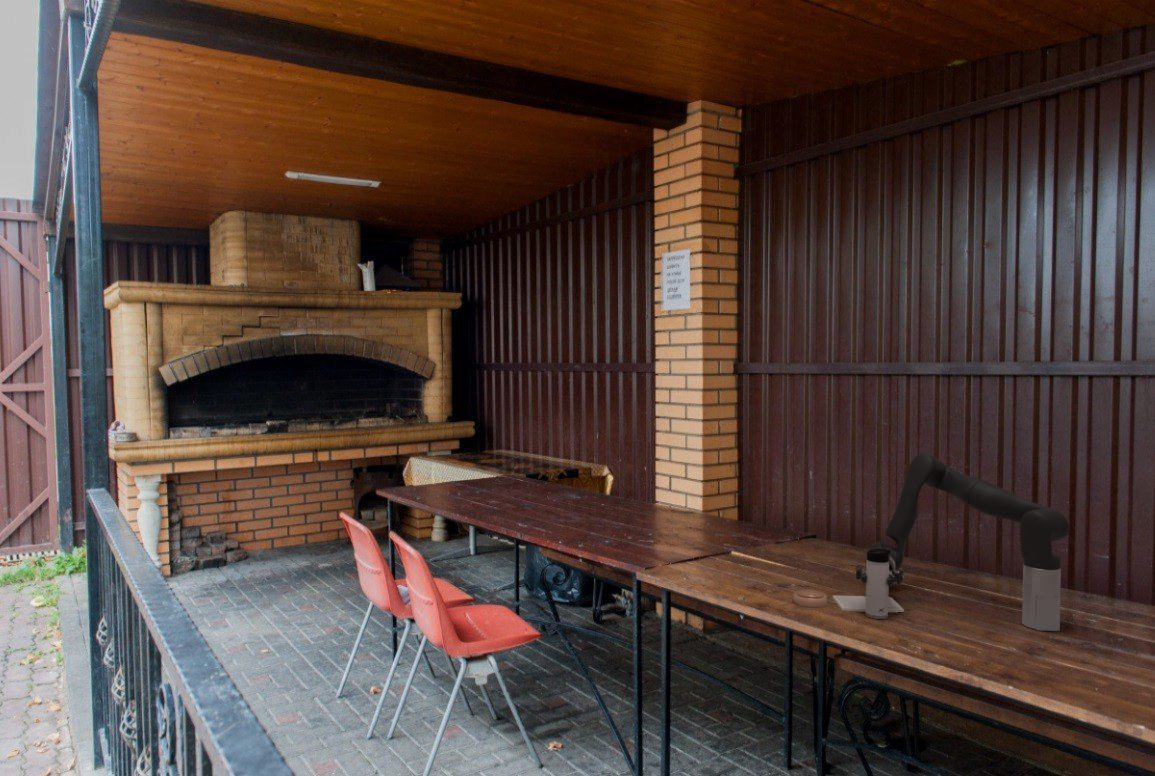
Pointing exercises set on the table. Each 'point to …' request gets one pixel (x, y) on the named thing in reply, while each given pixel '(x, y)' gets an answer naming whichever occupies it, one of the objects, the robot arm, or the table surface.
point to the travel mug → (877, 583)
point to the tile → (862, 603)
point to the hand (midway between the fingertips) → (876, 581)
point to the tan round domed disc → (810, 598)
